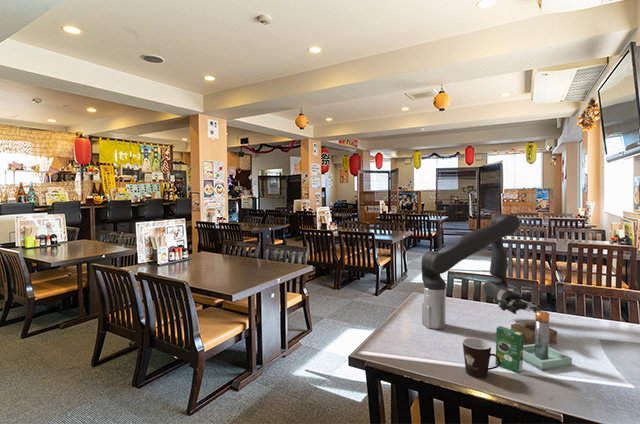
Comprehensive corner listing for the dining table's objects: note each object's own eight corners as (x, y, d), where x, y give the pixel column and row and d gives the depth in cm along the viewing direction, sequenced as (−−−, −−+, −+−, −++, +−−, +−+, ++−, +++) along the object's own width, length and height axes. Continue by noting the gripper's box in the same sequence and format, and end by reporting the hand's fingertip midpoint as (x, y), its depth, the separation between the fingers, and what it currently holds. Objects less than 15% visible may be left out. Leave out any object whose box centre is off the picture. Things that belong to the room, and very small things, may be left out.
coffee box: (524, 371, 112) (524, 332, 111) (519, 374, 110) (520, 334, 109) (499, 362, 118) (499, 325, 118) (495, 364, 117) (495, 327, 116)
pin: (541, 360, 117) (542, 315, 116) (531, 355, 121) (532, 311, 120) (551, 359, 118) (552, 314, 117) (541, 354, 122) (542, 310, 121)
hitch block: (530, 346, 130) (530, 334, 130) (510, 336, 140) (511, 324, 139) (556, 343, 132) (556, 331, 132) (535, 333, 142) (535, 321, 142)
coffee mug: (457, 367, 115) (457, 338, 114) (481, 366, 116) (481, 337, 115) (475, 386, 103) (476, 354, 103) (502, 384, 104) (503, 352, 104)
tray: (541, 370, 112) (541, 362, 112) (513, 354, 124) (514, 346, 124) (571, 366, 114) (571, 358, 114) (541, 351, 126) (541, 343, 126)
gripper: (492, 290, 146) (507, 301, 130) (528, 291, 144) (547, 302, 128) (492, 307, 147) (507, 320, 131) (527, 308, 145) (547, 322, 129)
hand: (527, 311), depth 129 cm, fingers open, 8 cm apart
